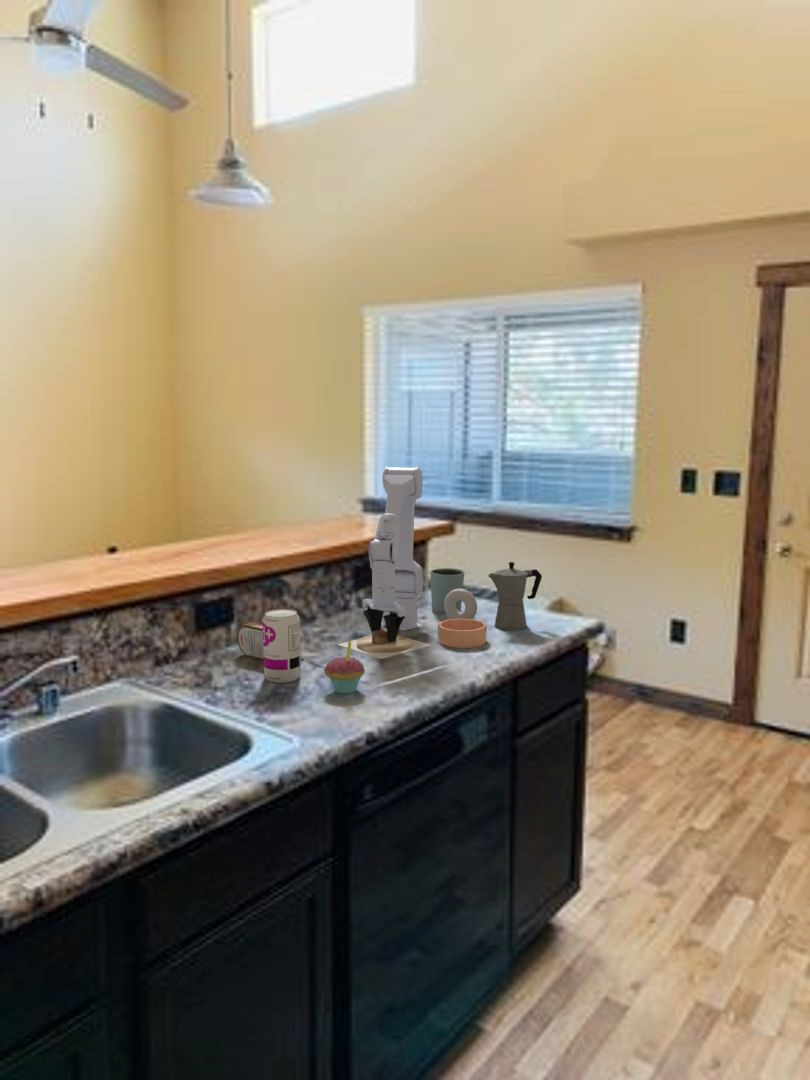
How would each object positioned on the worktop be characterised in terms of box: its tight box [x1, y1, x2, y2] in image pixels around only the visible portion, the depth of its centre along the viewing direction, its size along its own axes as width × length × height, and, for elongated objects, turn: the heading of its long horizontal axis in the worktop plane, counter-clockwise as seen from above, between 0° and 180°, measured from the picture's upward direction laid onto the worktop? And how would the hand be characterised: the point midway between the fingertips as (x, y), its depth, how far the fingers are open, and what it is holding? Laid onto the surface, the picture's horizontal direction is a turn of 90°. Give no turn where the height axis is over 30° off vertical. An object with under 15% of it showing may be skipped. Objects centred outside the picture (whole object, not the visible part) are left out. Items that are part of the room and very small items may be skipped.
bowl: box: [437, 618, 488, 649], centre depth 220 cm, size 12×12×5 cm
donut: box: [444, 588, 478, 620], centre depth 239 cm, size 10×3×10 cm, turn 61°
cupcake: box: [323, 637, 365, 694], centre depth 183 cm, size 9×8×12 cm
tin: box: [236, 621, 264, 661], centre depth 207 cm, size 15×3×8 cm, turn 54°
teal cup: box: [429, 567, 465, 615], centre depth 254 cm, size 10×10×12 cm
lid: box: [356, 627, 412, 653], centre depth 216 cm, size 14×14×4 cm
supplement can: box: [262, 609, 302, 684], centre depth 191 cm, size 8×8×15 cm
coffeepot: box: [487, 561, 543, 631], centre depth 236 cm, size 15×9×18 cm, turn 103°
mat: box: [337, 638, 432, 660], centre depth 217 cm, size 17×17×1 cm
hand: (384, 639), depth 217 cm, fingers open, 5 cm apart
